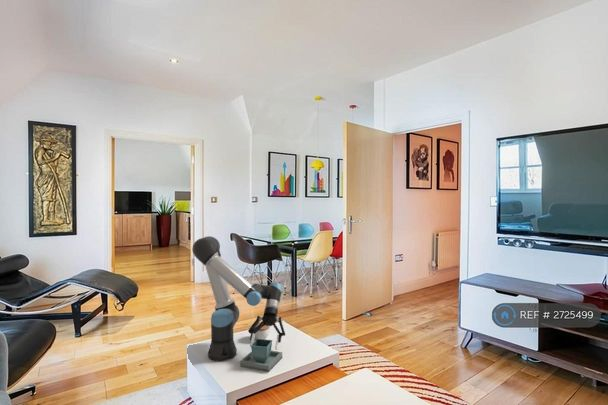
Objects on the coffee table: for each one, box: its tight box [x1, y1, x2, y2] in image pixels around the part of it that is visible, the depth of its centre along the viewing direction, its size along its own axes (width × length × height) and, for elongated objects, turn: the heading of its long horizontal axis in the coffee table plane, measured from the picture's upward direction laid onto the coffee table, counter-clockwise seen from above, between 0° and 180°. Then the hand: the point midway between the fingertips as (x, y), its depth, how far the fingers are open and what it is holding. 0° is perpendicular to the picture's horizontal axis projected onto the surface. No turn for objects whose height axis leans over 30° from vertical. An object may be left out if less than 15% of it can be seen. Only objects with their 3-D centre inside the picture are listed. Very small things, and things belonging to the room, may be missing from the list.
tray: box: [239, 349, 283, 373], centre depth 170 cm, size 16×16×3 cm
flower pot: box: [250, 339, 273, 362], centre depth 170 cm, size 9×9×9 cm
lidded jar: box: [254, 322, 270, 340], centre depth 201 cm, size 11×11×9 cm
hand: (263, 347), depth 171 cm, fingers open, 13 cm apart
